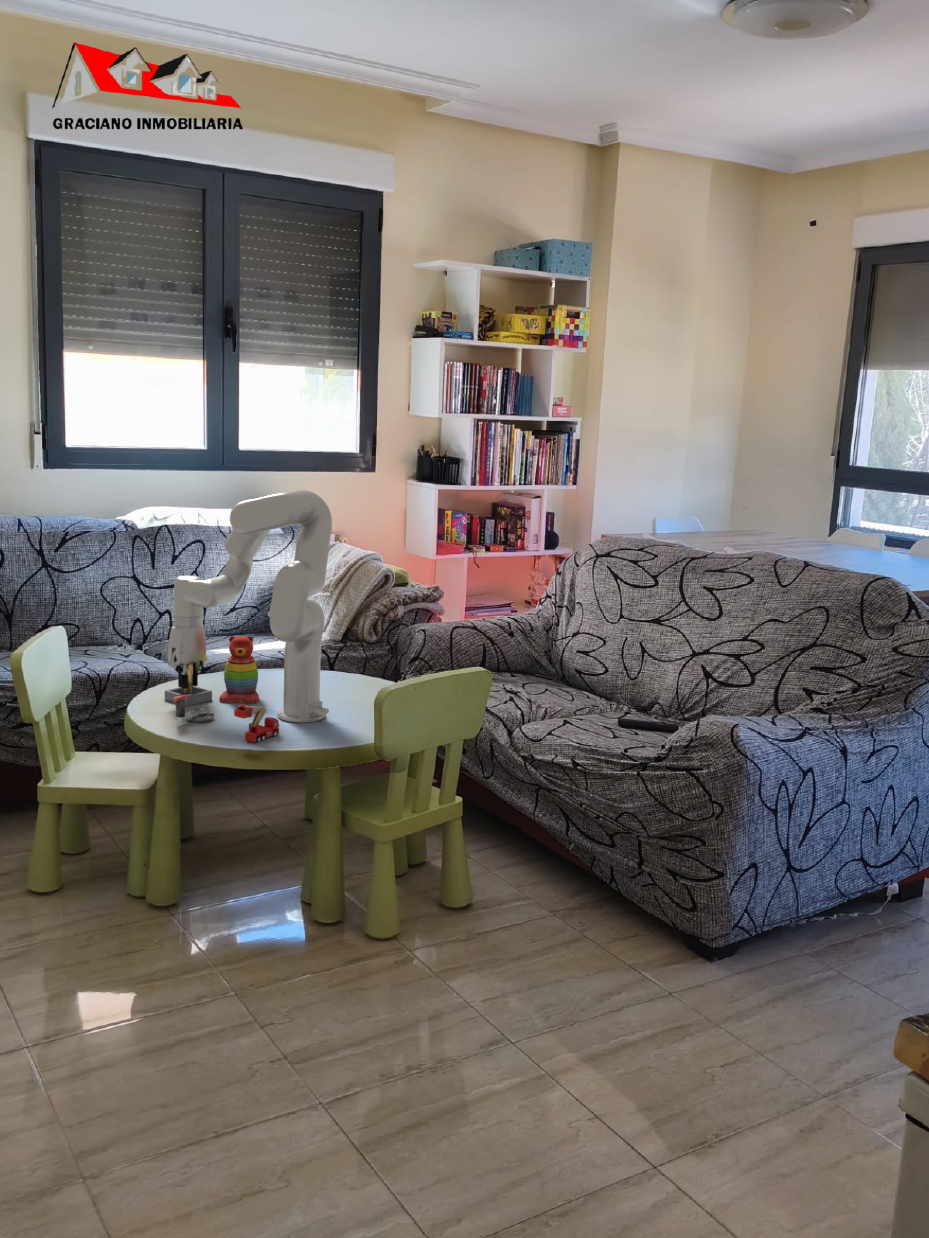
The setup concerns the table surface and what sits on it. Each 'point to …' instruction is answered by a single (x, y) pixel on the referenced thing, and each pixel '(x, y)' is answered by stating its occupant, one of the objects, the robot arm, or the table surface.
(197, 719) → the hub
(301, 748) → the table surface
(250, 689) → the stacking bear
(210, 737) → the table surface
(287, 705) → the robot arm
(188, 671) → the pin
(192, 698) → the tray
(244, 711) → the toy fire truck
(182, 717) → the crank
